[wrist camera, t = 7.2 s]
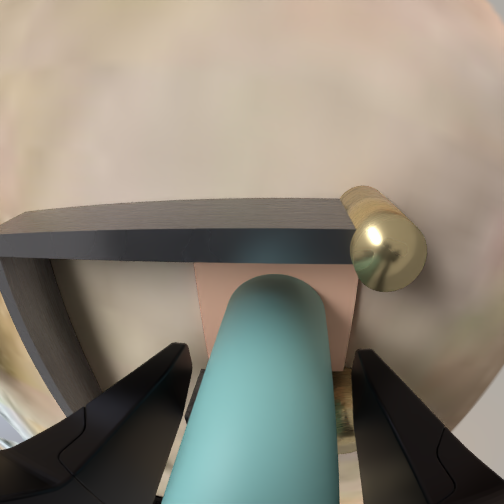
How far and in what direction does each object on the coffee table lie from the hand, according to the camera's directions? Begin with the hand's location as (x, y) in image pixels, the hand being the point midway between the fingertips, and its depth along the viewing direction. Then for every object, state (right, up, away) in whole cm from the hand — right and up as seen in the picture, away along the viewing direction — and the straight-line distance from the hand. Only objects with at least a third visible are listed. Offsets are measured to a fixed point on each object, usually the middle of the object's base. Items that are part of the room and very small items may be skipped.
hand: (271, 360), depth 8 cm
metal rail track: (-3, -3, +4) cm, 6 cm away
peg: (0, +1, +2) cm, 2 cm away
